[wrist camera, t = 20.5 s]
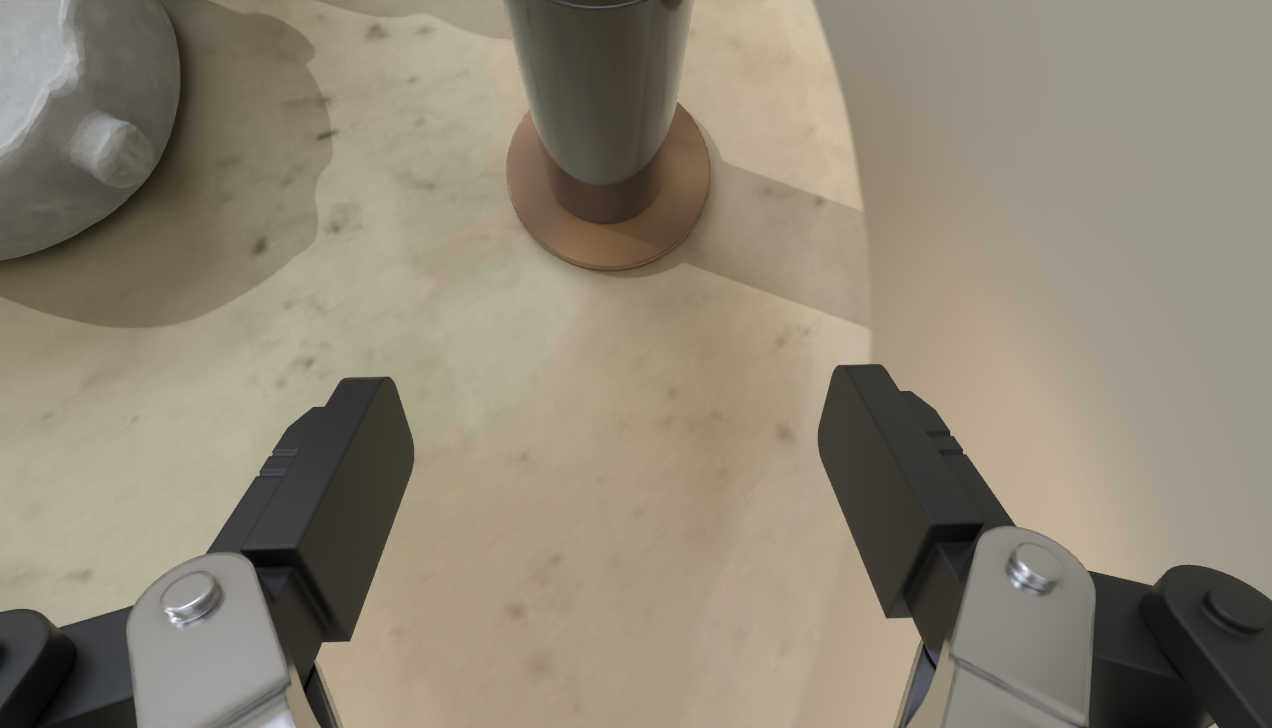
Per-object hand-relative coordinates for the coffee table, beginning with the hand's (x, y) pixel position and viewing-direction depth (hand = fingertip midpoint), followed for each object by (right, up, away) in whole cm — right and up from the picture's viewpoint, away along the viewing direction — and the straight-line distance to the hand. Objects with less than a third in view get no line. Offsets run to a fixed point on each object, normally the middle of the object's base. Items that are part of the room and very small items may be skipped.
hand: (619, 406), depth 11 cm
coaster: (-1, +8, +12) cm, 15 cm away
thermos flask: (-1, +8, +12) cm, 15 cm away
